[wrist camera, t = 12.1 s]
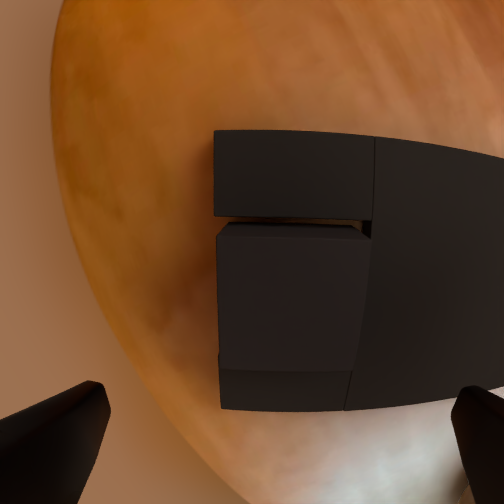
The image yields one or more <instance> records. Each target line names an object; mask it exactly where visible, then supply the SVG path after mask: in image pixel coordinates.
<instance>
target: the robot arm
mask: <svg viewBox="0 0 504 504" xmlns="http://www.w3.org/2000/svg"><path fill="white" fill-rule="evenodd" d="M110 414H111V408H110V404H109V401H108V398H107V394H106V391H105V388H104V386H103V384H101V383H99V382H95V381H85V382H83V383H81V384H79V385H76V386H75V387H72V388H70V389H68V390H66V391H64V392H62V393H59V394H57V395H55V396H53V397H50V398H48V399H46V400H44V401H42V402H39V403H37V404H35V405H33V406H30V407H28V408H26V409H24V410H21V411H19V412H17V413H14V414H12V415H10V416H8V417H5V418H3V419H1V420H0V504H77V503H78V501H79V499H80V496H81V494H82V492H83V489H84V487H85V485H86V482H87V480H88V477H89V476H90V473H91V471H92V469H93V466H94V464H95V461H96V459H97V456H98V452H99V449H100V446H101V443H102V439H103V437H104V433H105V430H106V427H107V424H108V421H109V418H110ZM451 421H452V425H453V428H454V432H455V436H456V440H457V444H458V448H459V452H460V456H461V460H462V464H463V467H464V470H465V473H466V476H467V479H468V482H469V485H470V488H471V492H472V495H473V498H474V501H475V504H504V399H503V398H501V397H499V396H497V395H495V394H493V393H491V392H489V391H487V390H485V389H483V388H481V387H479V386H477V385H472V386H467V387H463V388H462V389H461V390H460V392H459V395H458V397H457V399H456V402H455V404H454V406H453V409H452V411H451Z"/></svg>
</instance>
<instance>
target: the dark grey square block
mask: <svg viewBox="0 0 504 504" xmlns="http://www.w3.org/2000/svg"><path fill="white" fill-rule="evenodd" d="M371 246H372V240H371V239H369V238H368V237H367V236H365V235H364V234H363V233H361V232H360V231H359V230H357V229H356V228H355V227H353V226H352V225H329V224H299V223H262V222H228V223H227V224H226V225H225V227H224V228H223V229H222V230H221V231H220V232H219V234H218V235H217V236H216V265H217V304H218V333H219V357H220V368H221V369H233V370H252V371H284V372H329V371H353V369H354V365H355V359H356V354H357V349H358V343H359V337H360V331H361V325H362V319H363V312H364V305H365V298H366V291H367V283H368V275H369V266H370V257H371Z"/></svg>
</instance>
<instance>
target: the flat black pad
mask: <svg viewBox="0 0 504 504" xmlns="http://www.w3.org/2000/svg"><path fill="white" fill-rule="evenodd" d="M214 216H215V217H274V218H310V219H338V220H362V221H363V232H362V233H363V234H364V235H365V236H367V237H368V238H369V239H371V240H372V246H371V257H370V266H369V275H368V283H367V291H366V298H365V305H364V312H363V319H362V325H361V331H360V337H359V343H358V349H357V354H356V359H355V365H354V369H353V371H329V372H284V371H252V370H233V369H221V368H220V357H219V355H218V366H219V385H220V402H221V409H229V410H244V411H268V412H323V411H342V410H343V411H351V410H365V409H377V408H387V407H396V406H404V405H412V404H419V403H426V402H432V401H438V400H444V399H450V398H455V397H458V395H459V392H460V390H461V389H462V388H463V387H467V386H472V385H477V386H479V387H481V388H483V389H485V390H491V389H495V388H499V387H503V386H504V159H503V158H499V157H495V156H491V155H486V154H482V153H477V152H472V151H467V150H462V149H457V148H452V147H446V146H441V145H435V144H429V143H422V142H416V141H409V140H402V139H394V138H386V137H377V136H375V137H374V136H367V135H356V134H345V133H331V132H315V131H292V130H215V131H214Z"/></svg>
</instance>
